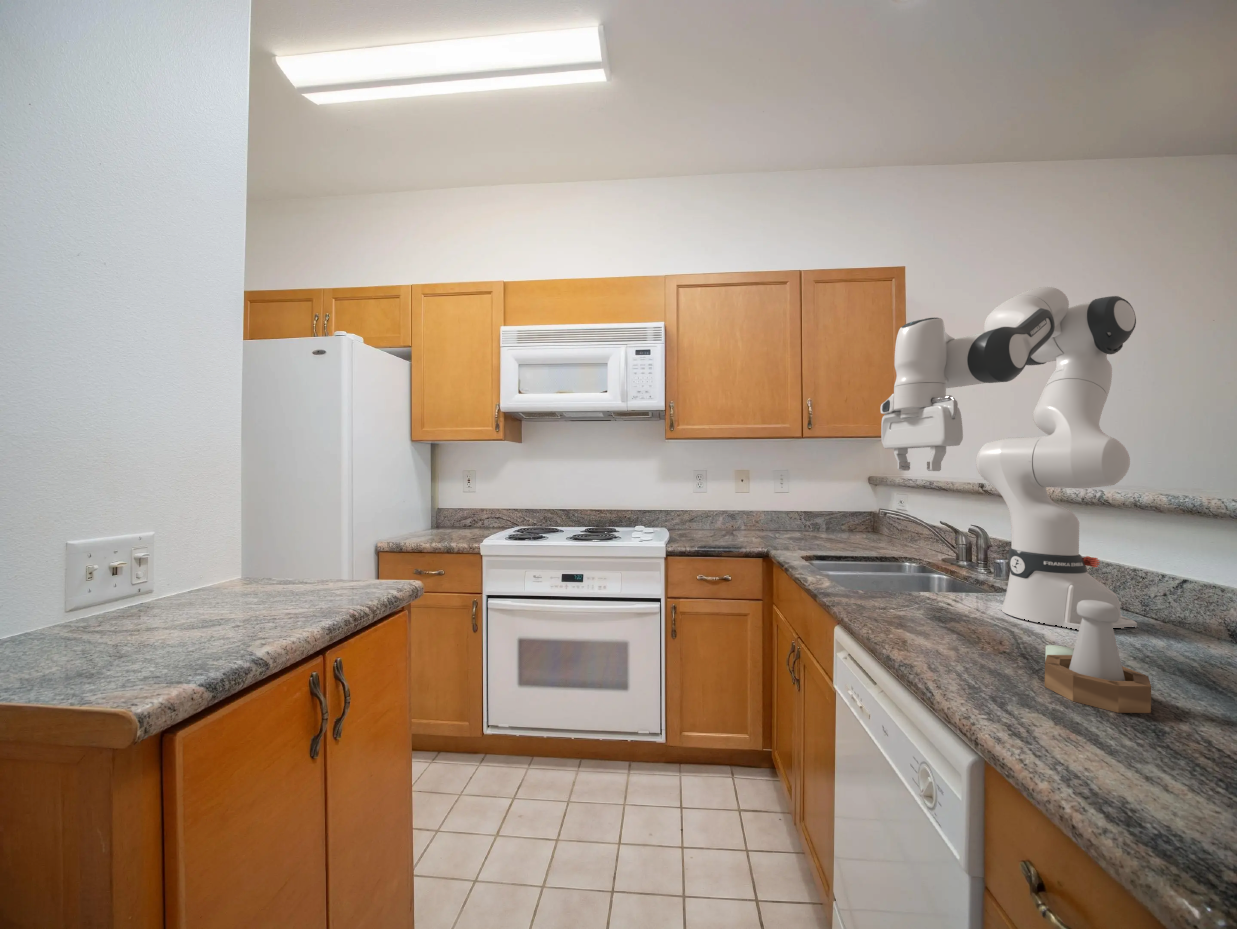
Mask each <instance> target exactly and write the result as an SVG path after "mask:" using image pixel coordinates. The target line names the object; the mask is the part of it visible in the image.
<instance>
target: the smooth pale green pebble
mask: <svg viewBox="0 0 1237 929" xmlns="http://www.w3.org/2000/svg"><path fill="white" fill-rule="evenodd" d="M1073 651H1074V648H1071V647H1069V646H1068V647H1067V646H1065V645H1064V646H1063V645H1056V644H1055V645H1054V644H1048V645H1047V644H1046V645H1045V658H1044V659H1045V660H1044V661H1046V657H1047V655H1073Z"/></svg>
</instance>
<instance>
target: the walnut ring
mask: <svg viewBox="0 0 1237 929" xmlns="http://www.w3.org/2000/svg"><path fill="white" fill-rule="evenodd" d="M1071 659H1072V655H1047V657H1046V661H1045V660H1044V661H1045V662H1044V688H1047V689H1048V690H1050V691H1051V692H1055V693H1056V694H1058V695H1060V696H1062V697H1064V698H1066V699H1068V700H1069V701H1072V702H1074V703H1079V704H1083V705H1087V706H1091V707H1095V708H1099V709H1102V710H1106V711H1109V712H1114V713H1117V714H1118V713H1121V714H1128V713H1129V714H1151V713H1152V685H1151V682H1150V678H1149V676H1148V675H1146V674H1143V673H1141V672H1139V671H1135V670H1133V669H1131V668H1128V667H1125V666H1123V665H1122V669H1123V673H1124V677H1125V681H1109V680H1105V679H1100V678H1096V677H1092V676H1087V675H1083V674H1079V673H1077V672H1074V671H1072V670H1070V669H1069V667H1070V663H1071Z"/></svg>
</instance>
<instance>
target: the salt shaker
mask: <svg viewBox="0 0 1237 929" xmlns="http://www.w3.org/2000/svg"><path fill="white" fill-rule="evenodd" d="M1077 613H1078V615H1079V616H1081V617H1082V620H1081V624H1080V628H1079V630H1078V632H1077V637H1076V641H1075V644H1074V647H1073V649H1074V651H1073V655H1072V659H1071V663H1070V667H1069V669H1070V670H1072V671H1074V672H1077V673H1079V674H1083V675H1087V676H1092V677H1096V678H1100V679H1105V680H1109V681H1125V677H1124V673H1123V669H1122V666H1123V665H1122V662H1121V661H1122V660H1121V657H1120V652H1119V649H1118V645H1117V640H1116V634H1115V629H1113V625H1112V622H1117V621H1118V620H1119V611H1118V609H1117V608H1116V607H1115V606H1114V605H1112V604H1109V603H1106V602H1102V601H1096V600H1082V601H1080V602H1078V604H1077Z"/></svg>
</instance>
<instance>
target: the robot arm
mask: <svg viewBox="0 0 1237 929" xmlns="http://www.w3.org/2000/svg"><path fill="white" fill-rule="evenodd" d="M1136 324H1137V316H1136V313H1135V310H1134V308H1133V305H1131V303H1130V302H1129V301H1128V300H1127V299H1125V298H1123V297H1122V296H1119V295H1112V296H1105V297H1099V298H1095V299H1092V301H1088V302H1085V303H1081V304H1076V305H1073V306H1070V304H1069V299H1068V296H1067V295H1066V294H1065V293H1064V291H1062V290H1061V289H1059V288H1057V287H1054V286H1053V287H1052V286H1042V287H1037V288H1032V289H1029V290H1027V291H1026V290H1025V291H1023V292H1020V293H1019V294H1016V295H1014V296H1012V297H1011V298H1009V299H1007V300H1005V301H1003V302H1001V303H1000V304H999V305H997V306H996V307H994V309H992V311H990V312H989V313H988V314H987V317H986V318H985V320H984V325H983V331H984V332H981V333H976V334H972V335H967V336H966V335H965V336H963V337H959V338H955V337H952V336H951V335H950V334H948V333H947V332H946V328H945V323H944V320H943V318H940V317H926V318H924V319H923V318H922V319H917V320H914V321H911V322H908V323H906V324H903V325H902V326H901V327H900V328H899V329H898V332H897V335H896V340H895V347H894V348H895V349H894V369H895V373H896V377H895V382H894V385H893V393H892V394H891V395H890V396H889V397H888V398H887V399H886V400H885V401H884V402H882V403H881V405H880V409H879V410H880V414H882V418H881V424H880V425H881V427H880V428H881V429H880V432H881V434H880V437H881V444H882V446H883V448H884V449H886V450H893V455H894V457H895V460H896V462H897V470H898V471H900V472H901V471H907V472H908V471H910V470H911V462H910V461H908V457H907V455H908V452H909V451H908V450H909V449H923V448H924V449H925V448H929V451H930V453H931V456H930V459H929V461H927V462H926V470H927V471H928V472H940V471H941V470H942V461H943V460H944V458H945V456H946V453H947V447H955V446H956V447H958V446H960V445H961V443H962V442H963V438H964V431H963V430H964V429H963V420H962V419H963V418H962V414H961V410H960V408H959V402H958V400H957V399H955V397H953V395H950V394H949V395H948V394H947V389H951V388H952V389H953V388H961V387H967V386H975V385H981V384H982V385H983V384H994V383H995V384H996V383H1007V382H1010V381H1013V380H1014V379H1016V378H1017V377H1018V376H1019V375H1020V374H1021V373H1022V371H1024V369H1025V367H1026V366H1039V365H1040V366H1041V365H1044V364H1046V363H1051V362H1056V365H1055V369H1054V371H1053V372H1052V373H1051V375H1050V377H1049V378H1048V379H1047V381H1046V383H1045V386H1044V387H1043V389H1042V392H1041V394H1040V396H1039V399H1038V400H1037V403H1036V404H1035V408H1034V409H1033V412H1032V418H1033V419H1032V420H1033V422H1034V425H1035V426H1036V427H1037V428H1038V430H1040V431H1042V432H1044V433H1045V434H1047V435H1044V436H1024V437H1023V436H1022V437H1018V436H1017V437H1008V438H1001V439H996V440H991V441H987V442H985V443H984V444H983V445H982V446H981V447H980V449H979V450H978V452H977V454H976V459H975V466H976V469H977V471H978V474H979V475H980V477H981V478H982V479H984V481H986V482H987V483H989V484H990V485H991V486H993V488H995V489H996V490H997V491H998V493H999V494H1000V495H1001V497H1002V498H1003V500H1004V502H1005V503H1006V506H1007V510H1008V512H1009V520H1010V530H1011V534H1010V535H1011V536H1010V537H1011V540H1010V541H1011V547H1009V548H1008V560H1007V561H1008V562H1007V563H1008V566H1009V577H1008V583H1007V588H1006V592H1005V597H1004V599H1003V602H1002V605H1001V608H1000V611H1001V610H1002V612H1003V613H1004V614H1006V615H1009V616H1011V617H1015V618H1018V619H1021V620H1024V619H1025V621H1028V620H1029V622H1034V623H1038V622H1040V623H1039V624H1043V623H1045V624H1044V625H1050V626H1055V625H1057V626H1056V627H1061V626H1062V628H1066V627H1067V628H1066V629H1070V628H1072V629H1071V630H1075V629H1077V630H1076V631H1079V628H1080V624H1081V620H1082V617H1081V616H1079V615H1078V613H1077V604H1078V602H1080V601H1082V600H1096V601H1102V602H1106V603H1109V604H1112V605H1114V606H1115V607H1116V608H1117V609H1118V611H1119V620H1118V621H1117V622H1112V625H1113V628H1121V629H1125V628H1124V627H1132V626H1137V627H1138V623H1137V622H1136V621H1135V620H1134V619H1131V618H1128V617H1126V616H1123V615H1122V614H1121V604H1120V600H1119V597H1118V596H1117V594H1116V593H1115V592H1114V591H1113V590H1111V589H1110V588H1108V587H1107V586H1105V585H1104V584H1103V583H1101V582H1100V581H1098V580H1097V579H1096V578H1095V577H1093V576H1092V575H1091V574H1089V573H1088V569H1087V567H1088V566H1089V567H1092V568H1098V567H1099V566H1100V563H1101V562H1100V561H1101V560H1100V559H1099V558H1098V557H1091V556H1088V555H1086V556H1084V557H1083V556H1082V555H1081V554H1080V521H1079V518H1078V517H1077V515H1076V514H1075V513H1074V512H1073V511H1071V510H1070V509H1068V508H1066V507H1064V506H1062V505H1060V504H1057V503H1055V501H1053V500H1052V499H1051V497H1050V496H1049V494H1048V492H1047V491H1048V490H1047V488H1062V489H1093V488H1101V487H1109V486H1110V487H1111V486H1115V485H1117V484H1118V483H1119V482H1120V481H1121V480H1123V479H1124V478H1125V476H1126V475H1127V473H1128V472H1129V468H1130V464H1131V458H1130V454H1129V451H1128V450H1127V448H1126V447H1125V445H1124V444H1122V443H1121V442H1120V441H1119V440H1118V439H1116V438H1114V437H1112V436H1110V435H1108V434H1106V433H1104V431H1103V430H1102V429H1101V427H1100V420H1101V416H1102V413H1103V410H1104V407H1105V404H1106V401H1107V399H1108V397H1109V394H1110V390H1111V386H1112V379H1113V378H1112V377H1113V367H1112V364H1111V362H1110V361H1109V359H1108V356H1107V355H1114V354H1117V353H1118V352H1120V351H1121V350H1122V348H1123V347H1124V343H1126V342H1127V341H1128V340H1129V338H1130V337H1131V335H1132V334H1133V332H1134V331H1135V328H1136Z"/></svg>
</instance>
